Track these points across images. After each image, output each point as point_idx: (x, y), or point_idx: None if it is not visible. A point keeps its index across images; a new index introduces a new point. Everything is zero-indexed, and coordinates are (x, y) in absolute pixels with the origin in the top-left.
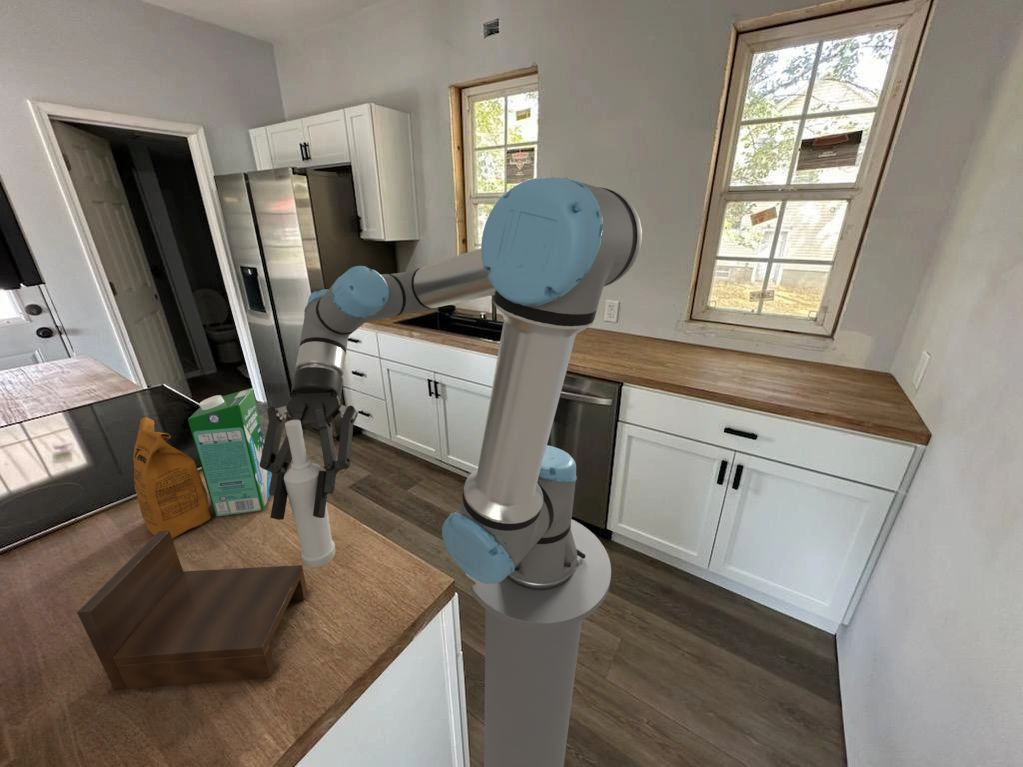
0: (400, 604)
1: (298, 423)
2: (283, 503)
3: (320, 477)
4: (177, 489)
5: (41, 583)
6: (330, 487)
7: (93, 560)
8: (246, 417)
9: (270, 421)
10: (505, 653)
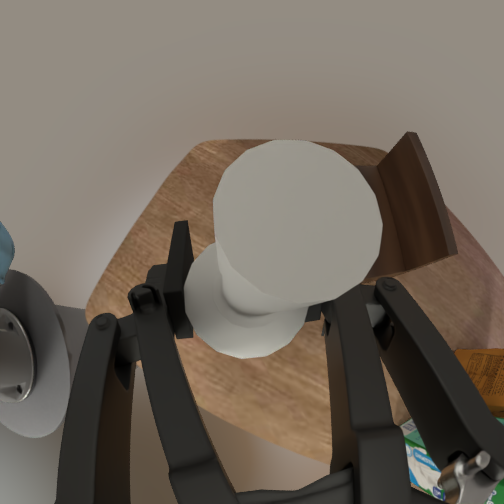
0: (123, 285)
1: (221, 194)
2: None
3: (174, 277)
4: (489, 377)
5: (493, 282)
6: (149, 273)
7: (485, 313)
8: (491, 494)
9: (487, 416)
10: (73, 314)
